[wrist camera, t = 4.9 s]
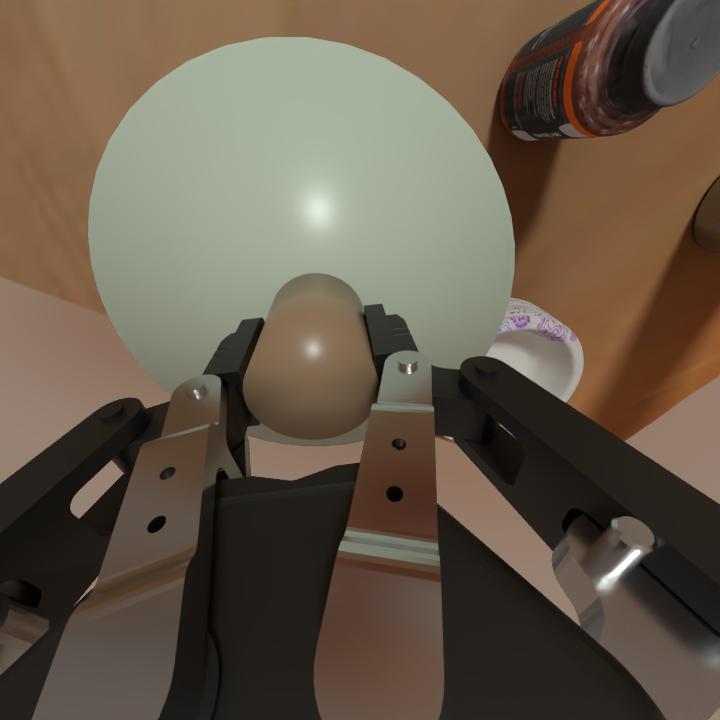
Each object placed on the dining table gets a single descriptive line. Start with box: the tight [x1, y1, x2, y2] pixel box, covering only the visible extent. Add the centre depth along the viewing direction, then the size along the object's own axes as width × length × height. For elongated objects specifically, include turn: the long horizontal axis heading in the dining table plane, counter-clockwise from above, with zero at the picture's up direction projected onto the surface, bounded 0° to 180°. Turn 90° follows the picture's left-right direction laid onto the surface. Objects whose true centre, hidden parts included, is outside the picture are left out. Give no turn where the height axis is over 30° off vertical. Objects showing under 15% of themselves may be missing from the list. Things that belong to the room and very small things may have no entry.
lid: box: [88, 37, 515, 446], centre depth 11 cm, size 17×17×6 cm
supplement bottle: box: [499, 0, 720, 141], centre depth 17 cm, size 6×6×11 cm
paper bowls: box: [444, 298, 584, 441], centre depth 31 cm, size 15×15×8 cm
